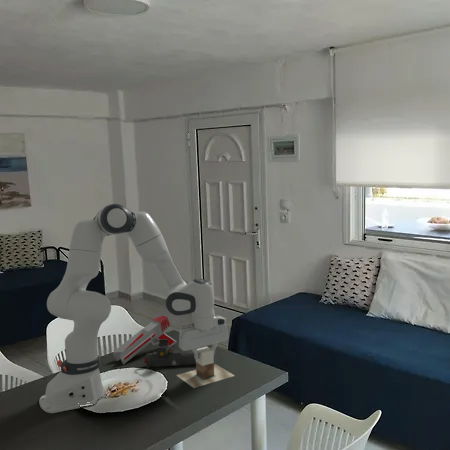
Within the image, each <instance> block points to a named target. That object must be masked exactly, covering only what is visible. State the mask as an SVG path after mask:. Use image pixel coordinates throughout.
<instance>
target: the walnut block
mask: <svg viewBox="0 0 450 450" xmlns="http://www.w3.org/2000/svg"><path fill="white" fill-rule="evenodd" d="M214 365H215V363H211V364H208V365H204V366H202V365H200V364H199V363H197V362H196V365H195V368H196V369H195V370H196V374H197V375H198V376H199V377H201V378H202V379H205V378H209V377H212V376H214Z"/></svg>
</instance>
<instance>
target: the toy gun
mask: <svg viewBox="0 0 450 450" xmlns="http://www.w3.org/2000/svg"><path fill="white" fill-rule="evenodd" d="M170 326H171V323H170V321H169V318H168V317H167V316H164V315H159V316H157V317H155V318H153V319H152V321H150V322H149V323H148V324H147V325H146V326H144V327H142V329H140V330H139V331H138V332H137V333H135V334H133V336H131V337H130V338H129V339H127V340H126V341H125V342H124V343H122V344H121V345H120V346H119V347H117V348H116V349H115V350H113V351H112V355H113V357H114V359H115V361H116V362H119V361H121V363H122V365H125V364H126V363H128V361H130V360H131V359H133V357H135V356H136V355H137V354H138V353H140V352H141V351H142V350H143V349H144V348H146V347H147V346H148V345H149V344H151V345H153V346H155V345H159V339H168V346H169V347H173V346H174V345H175V344H176V343H177V340H175V339H174V338H172V336H170V335H168V334H166V333H165V332H164V331H166V330H167V329H168V328H170ZM154 340H155V341H154Z"/></svg>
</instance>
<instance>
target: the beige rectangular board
mask: <svg viewBox="0 0 450 450" xmlns="http://www.w3.org/2000/svg"><path fill="white" fill-rule="evenodd" d="M176 377H178V378H179V379H180V380H182V381H183V382H185V383H186V384H188V385H189V386H190V387H192V388H193V389H195V388H198V387H202V386H205V385H208V384H212V383H215V382H218V381H222V380H225V379H228V378H232V377H235V375H234V374H233V373H231V372H230V371H228V370H226V369H224V368H223V367H222V366H220V365H218V364H216V363H214V376H212V377H209V378H205V379H202V378H201V377H199V376H198V375H197V374H196V369H194V370H189V371H186V372H182V373H179V374H176Z"/></svg>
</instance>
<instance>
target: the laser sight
mask: <svg viewBox="0 0 450 450" xmlns="http://www.w3.org/2000/svg"><path fill="white" fill-rule="evenodd" d="M158 341H159V344H158V347H156V351H152V352H147V353H146V354H145V355H146V356H145V357H144V364H146V368H147V369H148V368H161V367H163V368H164V367H165V368H166V367H181V366H196V359H195V358H194V353H193V352H192V351H182V350H173V348H174V347H173V346H171V347H169V346H168V339H159V340H158Z"/></svg>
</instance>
